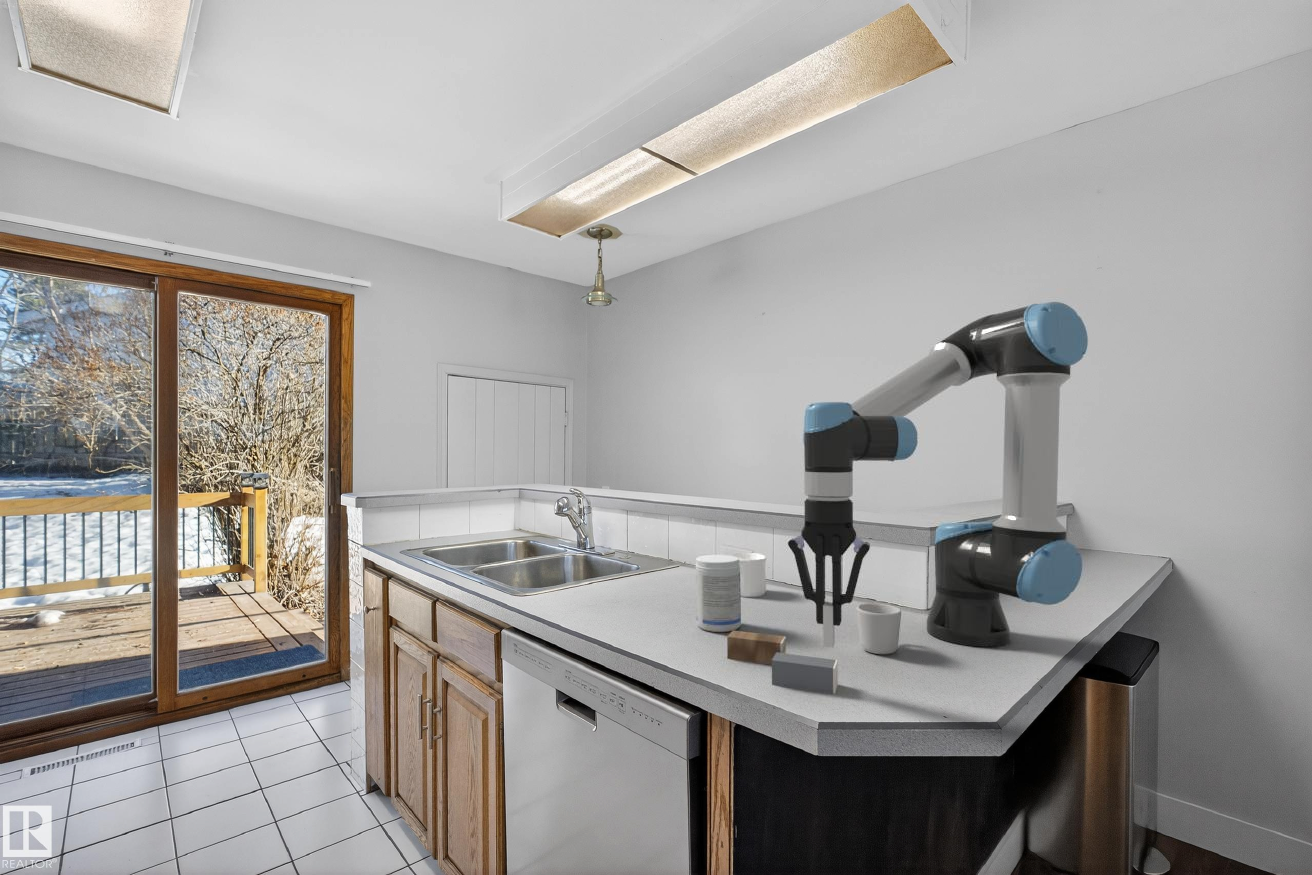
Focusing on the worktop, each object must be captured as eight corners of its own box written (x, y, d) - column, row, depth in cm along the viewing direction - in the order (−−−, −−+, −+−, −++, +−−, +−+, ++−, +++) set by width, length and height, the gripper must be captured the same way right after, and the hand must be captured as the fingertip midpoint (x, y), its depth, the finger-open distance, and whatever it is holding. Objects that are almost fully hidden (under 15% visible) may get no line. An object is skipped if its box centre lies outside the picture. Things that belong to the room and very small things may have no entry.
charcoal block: (837, 659, 100) (776, 652, 104) (835, 668, 96) (771, 659, 100) (837, 684, 100) (776, 675, 104) (835, 693, 96) (771, 684, 100)
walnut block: (786, 636, 112) (733, 630, 116) (781, 643, 108) (727, 636, 112) (786, 658, 112) (733, 651, 116) (782, 665, 108) (727, 658, 112)
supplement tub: (750, 628, 130) (749, 559, 130) (715, 636, 125) (715, 564, 125) (721, 617, 138) (720, 552, 138) (687, 624, 133) (686, 556, 133)
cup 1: (731, 597, 156) (731, 559, 156) (728, 588, 166) (727, 552, 166) (768, 598, 155) (768, 559, 155) (763, 588, 165) (763, 552, 165)
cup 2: (871, 637, 124) (870, 597, 124) (911, 645, 119) (911, 604, 119) (850, 651, 115) (850, 609, 115) (893, 661, 110) (893, 616, 110)
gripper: (872, 497, 100) (872, 642, 99) (791, 494, 104) (791, 633, 104) (870, 501, 93) (870, 657, 92) (783, 498, 98) (784, 646, 97)
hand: (828, 644), depth 98 cm, fingers closed
